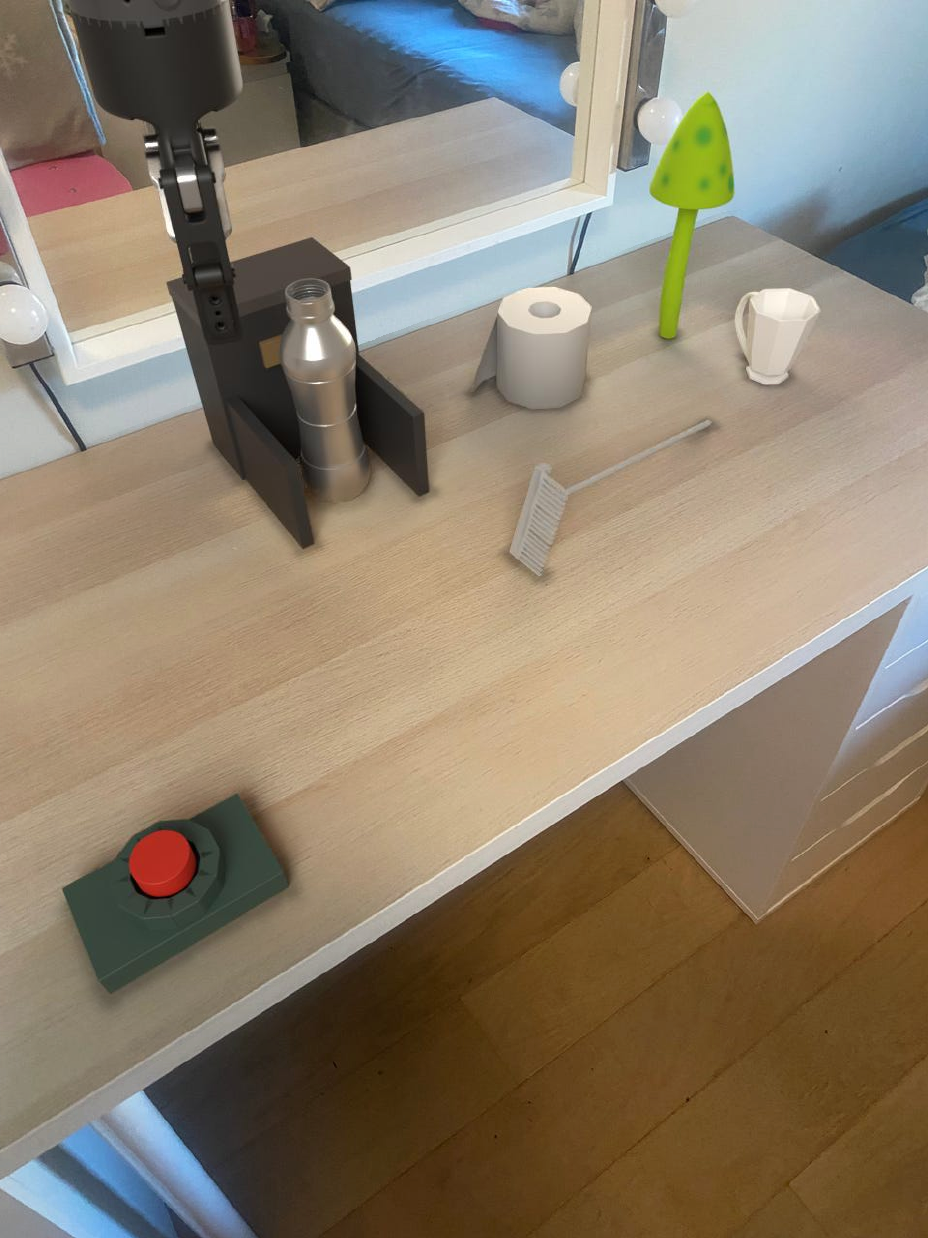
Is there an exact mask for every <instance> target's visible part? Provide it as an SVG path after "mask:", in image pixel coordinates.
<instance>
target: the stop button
mask: <svg viewBox="0 0 928 1238" xmlns="http://www.w3.org/2000/svg"><path fill="white" fill-rule="evenodd" d="M129 868H130V872H131V874H132V876H133V877H134V879H135V880H136V882H137V883H138V885H139V887H140V888H141V889H142V890H143V891H144V892H145V893H147V894H149V895H151V896H156V897H164V896H169V895H172V894H175V893H177V892H178V891H180V890H181V889H183V888H184V887H185V886H186V885H187V884H188V883H189V882H190V880H191V879H192V877H193V875H194V872H195V869H196V858H195V855H194V853H193V851H192V849H191V847H190V845H189V843H188V841H187V840H186V838H185V837H184V836H183V835H181V834H180V833H178V832H175V831H171V830H161V831H156V832H153V833H151V834H149V835H147V836H146V837H144V838H143V839H142V840H141V841H139V842H138V844H137V845H136V846H135V847H134V849H133V851H132V853H131V855H130V859H129Z"/></svg>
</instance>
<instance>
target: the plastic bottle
mask: <svg viewBox="0 0 928 1238" xmlns="http://www.w3.org/2000/svg"><path fill="white" fill-rule="evenodd" d="M285 296H286V302H287V307H286V308H287V314H288V316H289V318H290V319H291V320H290V322H289V324H288V325H287V327H286V328H285V331H284V333H283V335H282V337H281V340H280V347H279V357H280V361H281V365H282V367H283V370H284V373H285V376H286V379H287V382H288V384H289V387H290V390H291V393H292V397H293V401H294V405H295V409H296V412H297V417H298V421H299V430H300V441H301V453H300V457H299V459H300V460H299V462H300V463H299V466H300V473H301V478H302V480H303V482H304V484H305V487H306V489H307V490H308V492H310V493H311V494H312V495H313V496H314V497H316V499H319V500H321V501H323V502H325V503H333V504H334V503H336V504H338V503H344V502H348V501H351V500H353V499H355V498H357V497H358V496H359V495H360V494H362V492H363V491H364V490H365V488H366V487H367V485H368V484H369V481H370V474H371V460H370V456H369V453H368V449H367V445H366V444H365V443H364V442H363V439H362V435H361V430H360V426H359V421H358V417H357V408H356V394H355V367H356V350H355V343H354V341H353V338H352V336H351V334H350V332H349V330H348V329H347V328H346V327H345V326H344V325H343V323H342V322H341V321H340V320H339V319H338V318H336V317H335V316H334V315H333V313H334V310H335V308H334V302H333V300H332V295H331V289H330V286H329V284H328V283H327V282H325V281H323V280H320V279H313V278H308V279H301V280H298V281H295V282H293V283H291V284H290V285H289V286H287V288H286V290H285Z"/></svg>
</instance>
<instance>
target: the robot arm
mask: <svg viewBox="0 0 928 1238" xmlns="http://www.w3.org/2000/svg"><path fill="white" fill-rule="evenodd" d="M66 1H67V6H68V9H69V14H70V15H71V16H70V17H71V19H72V23H73V27H74V30H75V33H76V37H77V41H78V44H79V48H80V51H81V55H82V59H83V63H84V65H85V69H86V73H87V76H88V81H89V83H90V86H91V90H92V94H93V97H94V99H95V102H96V103H97V105H98V106H99V107H100V108H101V109H102V110H104V112H106V113H108V114H110V115H112V116H113V117H116V118H119V119H123V120H127V121H135V120H138V121H141V122H145V123H148V124H149V125H152V127H153V130H154V131H153V132H147V133H146V132H145V133H142V138H143V143H144V147H145V150H144V157H145V162H146V167H147V171H148V175H149V178H150V180H151V183H152V185H153V187H154V188H155V189H156V190H157V194H158V198H159V203H160V207H161V213H162V216H163V221H164V226H165V229H166V232H167V235H168V237H169V239H170V240H171V241H172V242H173V243H174V244H176V246H177V251H178V254H179V255H178V256H179V259H180V264H181V266H182V274H181V277H182V278H183V282H184V284H187V287H188V291H193V294H194V298H195V303H196V307H197V311H198V315H199V319H200V323H201V327H202V331H203V335H204V339H205V341H206V342H207V343H208V344H210V345H218V344H224V343H231V342H237V341H239V340H241V338H242V336H243V332H242V327H241V322H240V317H239V313H238V308H237V303H236V298H235V294H234V289H233V285H235V284H234V279H233V278H236V275H235V270H234V266H233V263H232V264H230V262H231V261H230V256H229V251H228V247H227V238H229V237H230V236H231V235H232V233H233V226H232V225H233V224H232V221H231V214H230V209H229V205H228V200H227V195H226V190H225V185H224V182H225V180H226V177H227V176H226V175H227V174H226V167H225V162H224V158H223V153H222V148H221V143H220V141H219V135H218V132H217V127H216V125H212V126H204V127H203V126H202V123H201V118H203V117H204V116H206V115H207V114H209V113H212V112H214V113H217V112H220V111H222V110H225V109H226V108H228V107H229V106H231V105H232V104H234V103H235V102H236V101H237V100H238V99H239V97H240V95H241V93H242V91H243V87H244V86H243V85H244V82H243V75H242V70H241V69H242V68H241V64H240V58H239V53H238V46H237V41H236V34H235V28H234V23H233V17H232V11H231V5H230V0H66Z"/></svg>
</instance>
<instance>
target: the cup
mask: <svg viewBox="0 0 928 1238" xmlns="http://www.w3.org/2000/svg"><path fill="white" fill-rule="evenodd" d="M748 301H749V304H748ZM747 304H748V319H747V333H745V330H744V326H743V314H744V311H745V307H746V305H747ZM821 311H822V310H821V308H820V306H819V305H818V302H817V301H816V299H815V298H814V296H812V295H810V294H806V293H803V292H801V291H798V290H796V289H793V288H791V287H789V288H788V287H787V288H786V287H785V288H784V287H783V288H763V289H762V290H760V291H750V292H747V293H745V295H743V296H741V299H740V300H739V302H738V305H737V306H736V311H735V314H734V329H735V332H736V336H737V339H738V343H739V344H740V347H741V350H742V352H743V354H744V356H745V358H746V359H747V362H748V364H749V365H747V366H746V367H745V371H746V373H747V376H748V378H749V379H750V380H752V381H754V382H756V383H759V384H761V385H763V386H764V385H780V384H782V383H783V382H784V381H785V380H786V379H787V378H788V377H789V373H788V371H789V370H790V369H792V367H794V365H795V363H796V361H797V359H798V358H799V357H800V354H801V353H802V351H803V349H804V347H805V345H806V343H807V341H808V338H809V336H810V335H811V332H812V330H813V328H814V326H815V324H816V323H817V320H818V318H819V315H820V314H821Z"/></svg>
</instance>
